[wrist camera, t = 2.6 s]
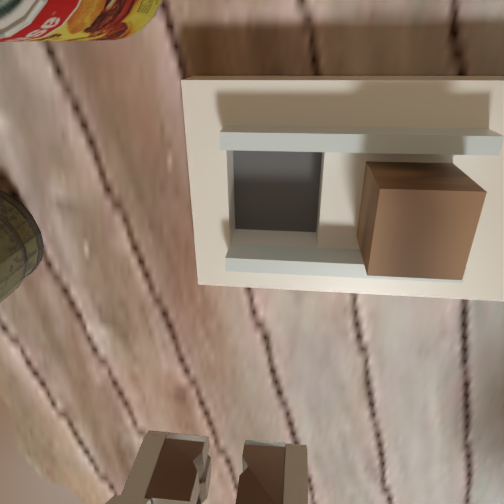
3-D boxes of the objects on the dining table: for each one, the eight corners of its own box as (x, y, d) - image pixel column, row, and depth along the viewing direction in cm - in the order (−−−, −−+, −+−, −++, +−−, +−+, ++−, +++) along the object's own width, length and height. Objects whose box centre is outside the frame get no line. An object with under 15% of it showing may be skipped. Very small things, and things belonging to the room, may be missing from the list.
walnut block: (452, 163, 24) (486, 191, 19) (435, 239, 26) (462, 280, 22) (366, 161, 24) (380, 188, 20) (356, 236, 26) (367, 275, 22)
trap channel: (615, 75, 23) (689, 84, 19) (536, 280, 30) (577, 322, 25) (193, 75, 26) (171, 83, 21) (206, 264, 32) (191, 300, 28)
